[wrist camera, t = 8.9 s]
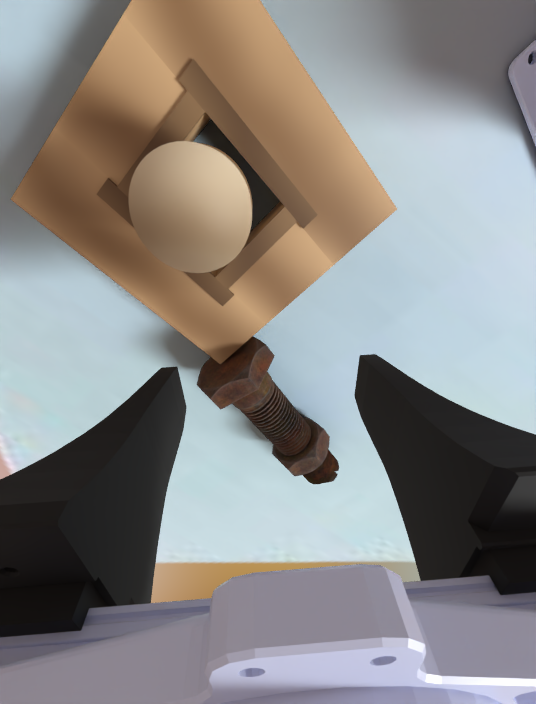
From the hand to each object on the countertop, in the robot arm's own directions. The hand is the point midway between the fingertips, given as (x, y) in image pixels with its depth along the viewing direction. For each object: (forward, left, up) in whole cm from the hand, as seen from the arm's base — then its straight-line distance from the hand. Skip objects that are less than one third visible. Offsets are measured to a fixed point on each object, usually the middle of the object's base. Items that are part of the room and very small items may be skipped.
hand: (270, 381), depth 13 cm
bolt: (+6, +9, -11) cm, 15 cm away
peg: (-2, -6, -10) cm, 12 cm away
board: (-2, -6, -10) cm, 12 cm away
